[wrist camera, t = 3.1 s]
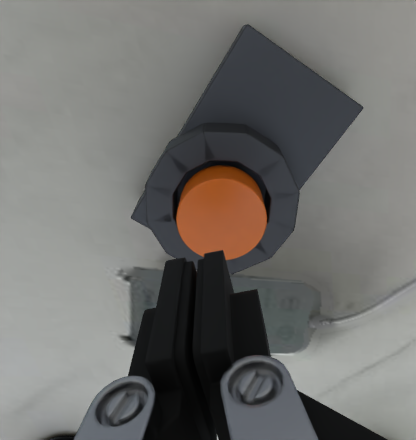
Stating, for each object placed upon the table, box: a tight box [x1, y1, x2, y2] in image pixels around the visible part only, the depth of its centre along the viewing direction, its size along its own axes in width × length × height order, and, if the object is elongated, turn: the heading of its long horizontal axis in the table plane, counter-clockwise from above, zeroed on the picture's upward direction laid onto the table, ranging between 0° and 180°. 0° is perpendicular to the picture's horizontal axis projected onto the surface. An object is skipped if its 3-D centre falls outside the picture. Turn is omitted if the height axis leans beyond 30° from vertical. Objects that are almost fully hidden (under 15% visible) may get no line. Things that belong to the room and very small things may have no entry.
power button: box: [176, 165, 267, 260], centre depth 16 cm, size 4×4×2 cm
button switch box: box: [131, 24, 363, 274], centre depth 18 cm, size 10×6×4 cm, turn 148°
